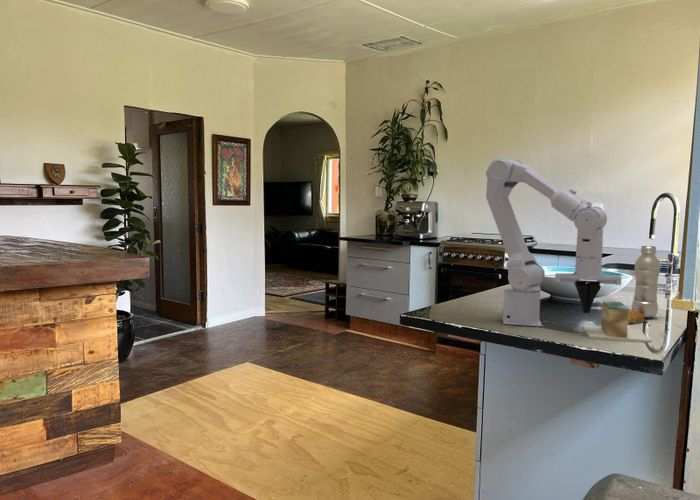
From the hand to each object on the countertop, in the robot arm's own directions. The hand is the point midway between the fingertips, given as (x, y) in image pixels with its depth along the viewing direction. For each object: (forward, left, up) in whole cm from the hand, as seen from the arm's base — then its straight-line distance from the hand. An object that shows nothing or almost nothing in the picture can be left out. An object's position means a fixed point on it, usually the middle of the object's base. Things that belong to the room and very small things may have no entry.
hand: (585, 312), depth 127 cm
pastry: (+13, +17, -6) cm, 22 cm away
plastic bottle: (+19, +24, -5) cm, 31 cm away
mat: (+7, +1, -5) cm, 9 cm away
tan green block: (+6, 0, -5) cm, 8 cm away
